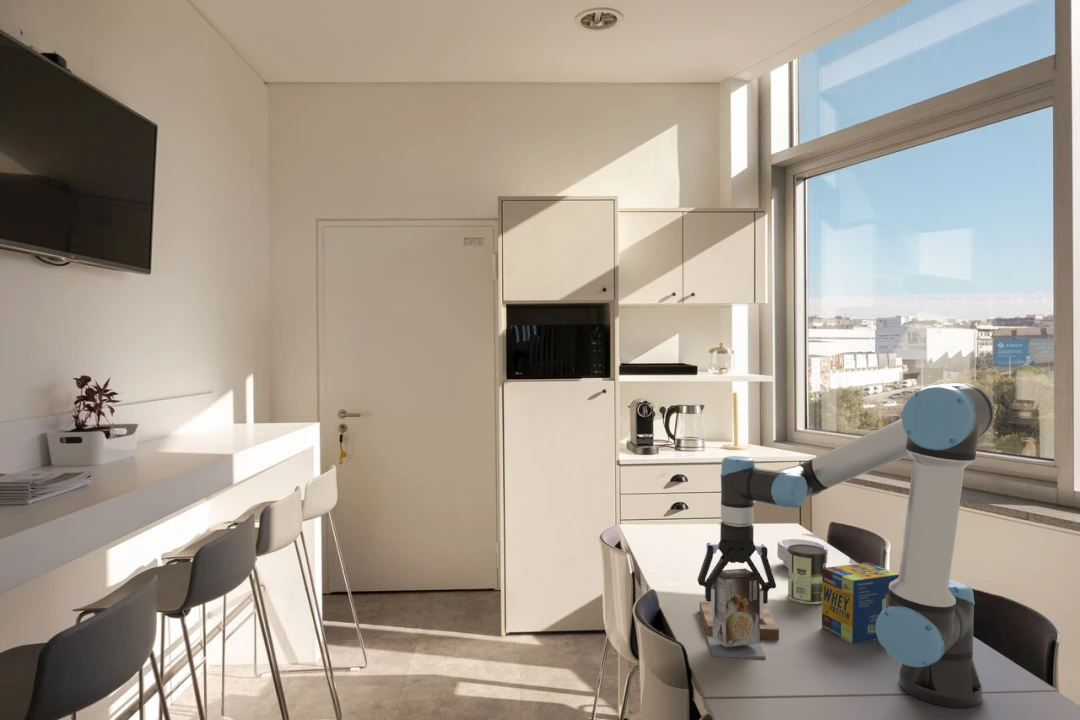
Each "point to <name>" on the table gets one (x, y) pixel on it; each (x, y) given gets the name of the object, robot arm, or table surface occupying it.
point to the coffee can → (805, 573)
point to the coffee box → (737, 608)
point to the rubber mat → (735, 650)
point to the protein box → (854, 599)
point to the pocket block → (767, 623)
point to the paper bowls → (786, 543)
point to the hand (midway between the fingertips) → (735, 615)
